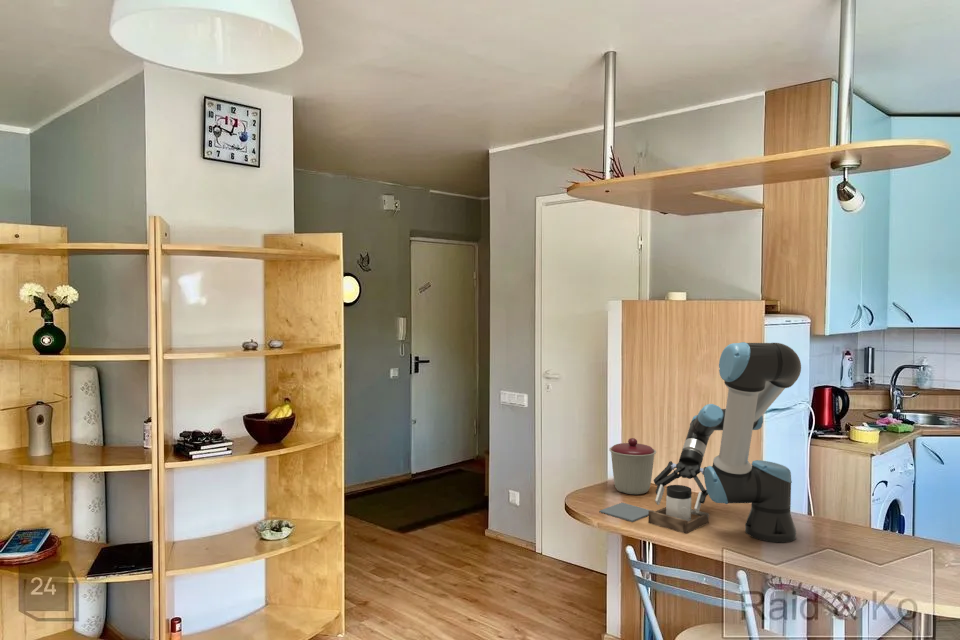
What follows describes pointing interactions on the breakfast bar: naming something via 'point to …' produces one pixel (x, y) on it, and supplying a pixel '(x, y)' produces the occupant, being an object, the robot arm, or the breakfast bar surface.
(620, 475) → the canister
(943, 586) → the breakfast bar surface
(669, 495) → the jar
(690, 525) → the jar holder
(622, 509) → the mat
